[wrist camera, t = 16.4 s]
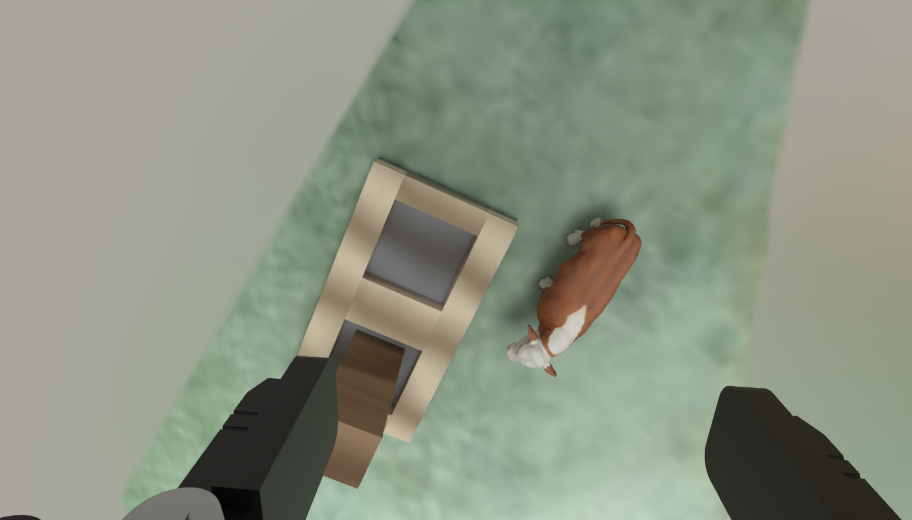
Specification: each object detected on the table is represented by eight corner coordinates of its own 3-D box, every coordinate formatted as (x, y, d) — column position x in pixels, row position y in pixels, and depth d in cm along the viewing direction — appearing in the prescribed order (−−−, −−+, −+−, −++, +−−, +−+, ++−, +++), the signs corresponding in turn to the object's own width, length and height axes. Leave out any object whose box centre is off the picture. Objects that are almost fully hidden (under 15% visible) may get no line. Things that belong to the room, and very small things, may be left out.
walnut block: (356, 329, 44) (316, 412, 32) (405, 348, 44) (382, 437, 33) (339, 370, 45) (294, 464, 34) (386, 389, 46) (357, 488, 34)
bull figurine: (494, 319, 44) (499, 367, 36) (595, 194, 40) (625, 218, 33) (534, 345, 45) (547, 399, 37) (637, 225, 41) (676, 256, 33)
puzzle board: (379, 157, 40) (373, 161, 38) (516, 219, 41) (518, 226, 39) (290, 379, 46) (282, 393, 44) (411, 427, 48) (408, 443, 46)
